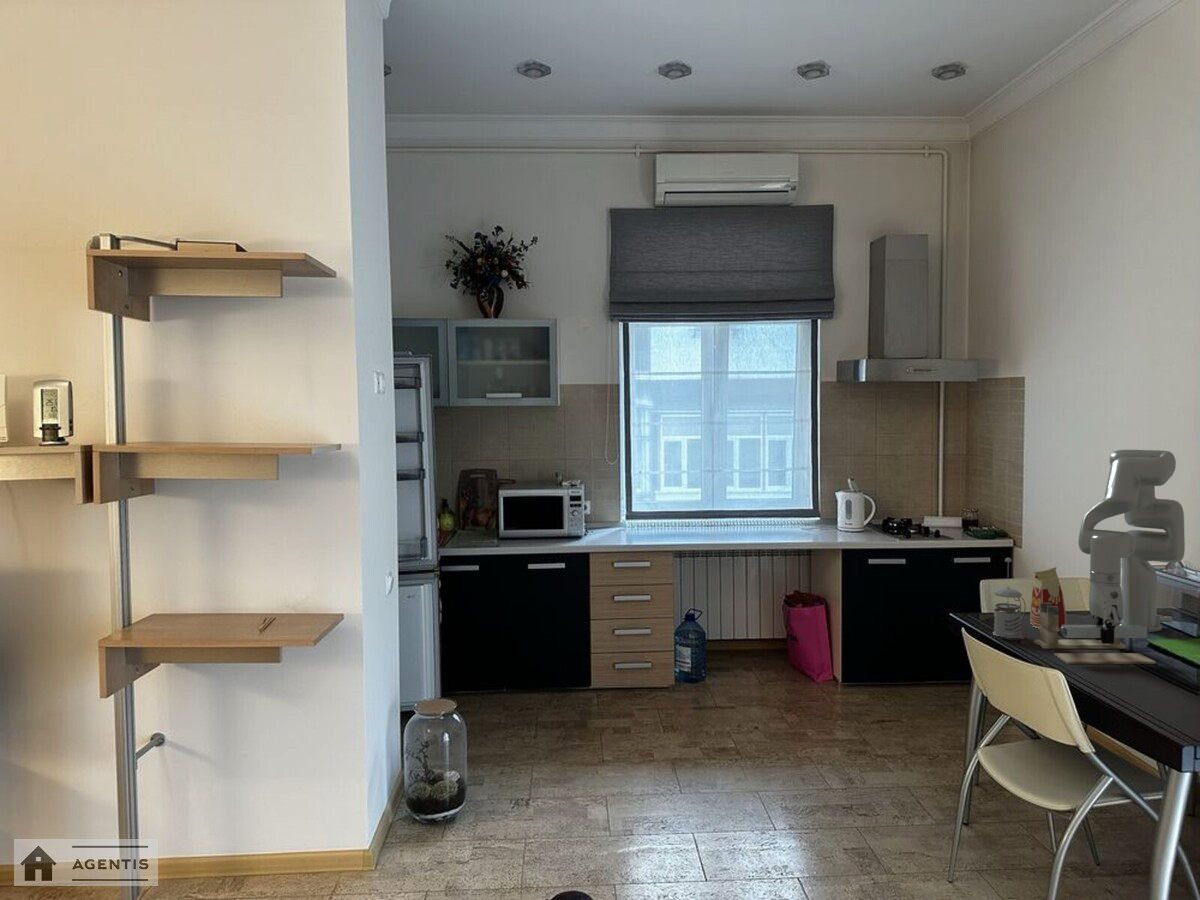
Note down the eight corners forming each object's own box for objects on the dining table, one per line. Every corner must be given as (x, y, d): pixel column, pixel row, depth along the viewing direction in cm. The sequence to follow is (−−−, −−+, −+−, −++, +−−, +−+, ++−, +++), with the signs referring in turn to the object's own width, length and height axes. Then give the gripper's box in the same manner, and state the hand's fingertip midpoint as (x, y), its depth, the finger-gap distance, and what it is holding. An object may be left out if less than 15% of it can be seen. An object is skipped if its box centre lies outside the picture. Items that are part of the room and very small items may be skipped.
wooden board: (1139, 655, 247) (1139, 653, 247) (1155, 663, 239) (1155, 661, 239) (1054, 655, 248) (1054, 653, 248) (1067, 663, 240) (1067, 661, 240)
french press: (983, 634, 272) (984, 556, 270) (1010, 629, 276) (1010, 553, 275) (1009, 642, 263) (1009, 561, 261) (1036, 637, 267) (1037, 558, 266)
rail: (1143, 635, 244) (1143, 624, 244) (1149, 638, 241) (1150, 627, 241) (1058, 635, 246) (1059, 624, 245) (1064, 637, 243) (1064, 627, 242)
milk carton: (1055, 624, 283) (1056, 564, 282) (1067, 631, 274) (1068, 569, 272) (1026, 623, 284) (1027, 564, 283) (1038, 631, 274) (1038, 569, 273)
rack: (1114, 642, 260) (1115, 602, 259) (1125, 648, 254) (1126, 606, 253) (1034, 642, 261) (1034, 602, 261) (1043, 648, 255) (1043, 607, 255)
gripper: (1135, 583, 234) (1133, 649, 235) (1103, 572, 250) (1102, 634, 251) (1106, 583, 235) (1105, 649, 235) (1077, 572, 251) (1076, 634, 252)
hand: (1104, 641), depth 243 cm, fingers closed on rail, 3 cm apart
